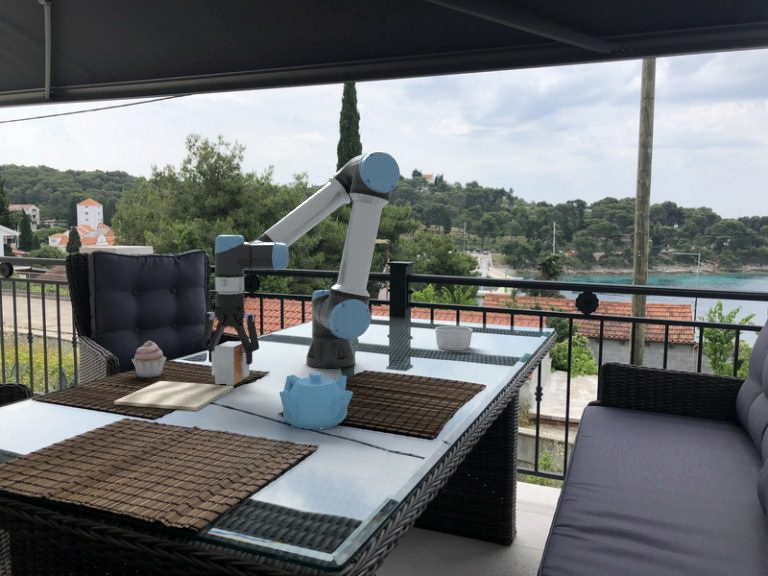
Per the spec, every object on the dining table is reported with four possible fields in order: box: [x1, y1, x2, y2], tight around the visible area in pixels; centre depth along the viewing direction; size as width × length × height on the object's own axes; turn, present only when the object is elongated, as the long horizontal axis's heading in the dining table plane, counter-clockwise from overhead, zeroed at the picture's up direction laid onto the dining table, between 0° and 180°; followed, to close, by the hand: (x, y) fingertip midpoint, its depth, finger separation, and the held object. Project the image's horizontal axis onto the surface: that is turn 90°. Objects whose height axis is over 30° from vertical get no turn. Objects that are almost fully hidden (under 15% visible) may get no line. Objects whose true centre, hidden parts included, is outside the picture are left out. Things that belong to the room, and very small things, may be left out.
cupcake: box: [131, 340, 167, 379], centre depth 178 cm, size 9×9×10 cm
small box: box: [214, 340, 247, 386], centre depth 172 cm, size 8×6×10 cm
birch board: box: [113, 380, 234, 411], centre depth 157 cm, size 21×20×1 cm
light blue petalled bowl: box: [279, 372, 354, 430], centre depth 139 cm, size 15×15×11 cm
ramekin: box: [434, 325, 474, 351], centre depth 225 cm, size 13×13×7 cm
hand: (230, 375), depth 173 cm, fingers open, 8 cm apart
